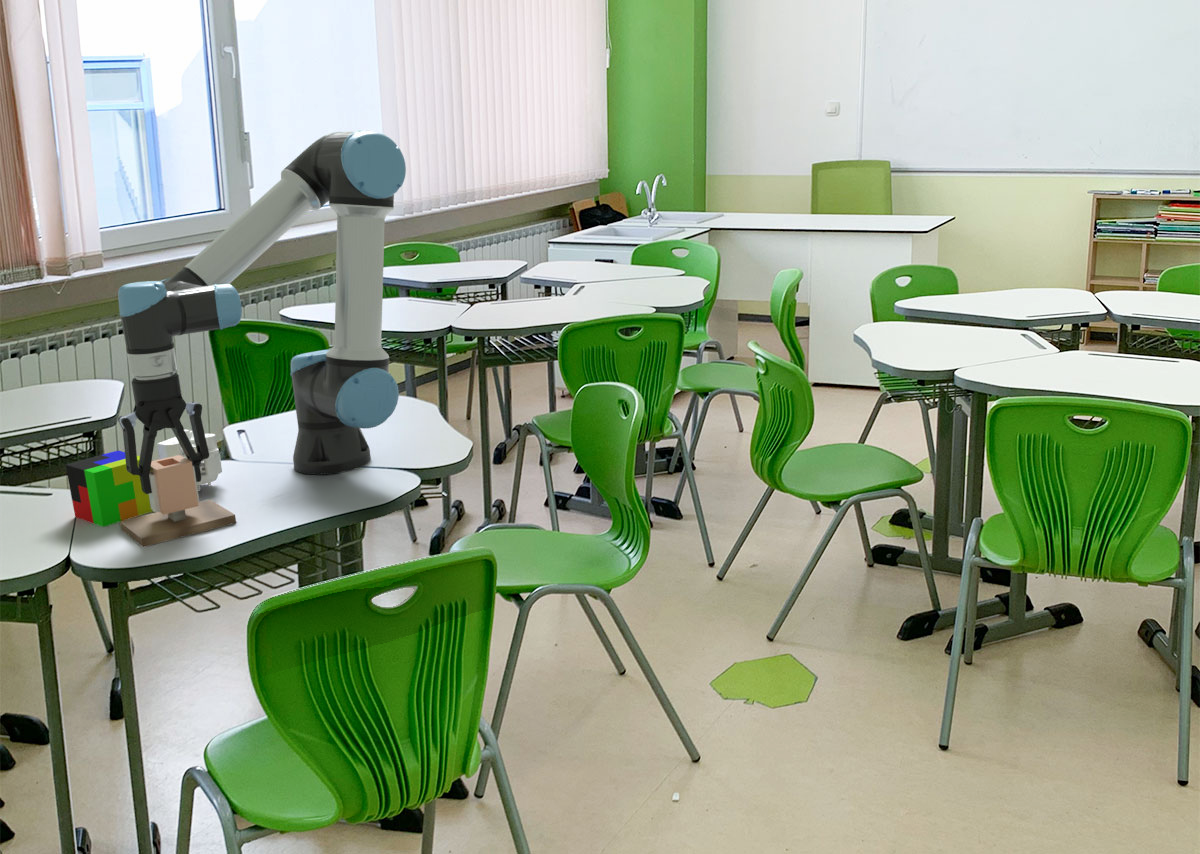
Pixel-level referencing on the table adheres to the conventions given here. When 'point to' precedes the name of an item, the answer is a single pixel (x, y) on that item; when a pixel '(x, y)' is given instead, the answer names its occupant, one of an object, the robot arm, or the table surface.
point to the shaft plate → (177, 523)
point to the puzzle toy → (106, 490)
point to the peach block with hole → (174, 484)
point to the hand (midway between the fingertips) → (175, 505)
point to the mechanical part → (207, 466)
